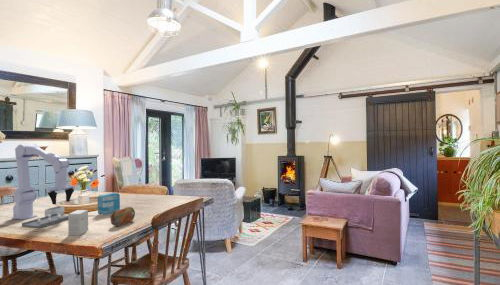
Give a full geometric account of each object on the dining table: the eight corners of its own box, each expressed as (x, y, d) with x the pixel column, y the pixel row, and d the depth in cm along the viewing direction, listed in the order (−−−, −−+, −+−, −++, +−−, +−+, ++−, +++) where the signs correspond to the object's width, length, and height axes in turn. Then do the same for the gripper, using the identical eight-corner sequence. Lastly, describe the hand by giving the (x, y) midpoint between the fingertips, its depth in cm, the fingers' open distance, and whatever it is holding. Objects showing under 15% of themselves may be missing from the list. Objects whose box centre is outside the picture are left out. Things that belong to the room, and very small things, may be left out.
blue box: (101, 215, 167) (101, 196, 167) (97, 214, 169) (97, 195, 169) (120, 211, 177) (119, 193, 177) (116, 210, 179) (116, 192, 179)
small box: (77, 230, 138) (76, 209, 138) (88, 230, 139) (88, 209, 139) (67, 235, 130) (67, 214, 130) (80, 235, 131) (79, 213, 131)
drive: (44, 218, 163) (44, 209, 163) (58, 214, 172) (58, 206, 172) (50, 218, 162) (50, 209, 162) (64, 214, 171) (64, 206, 171)
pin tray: (21, 226, 146) (21, 220, 146) (56, 216, 166) (56, 211, 166) (40, 228, 143) (40, 222, 143) (73, 217, 162) (73, 212, 162)
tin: (114, 228, 142) (113, 212, 142) (109, 227, 143) (109, 211, 143) (135, 220, 156) (135, 205, 156) (131, 219, 157) (130, 205, 157)
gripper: (51, 181, 150) (51, 206, 150) (77, 178, 163) (78, 200, 163) (44, 180, 153) (44, 204, 153) (70, 177, 166) (70, 199, 166)
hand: (61, 202), depth 158 cm, fingers open, 7 cm apart
